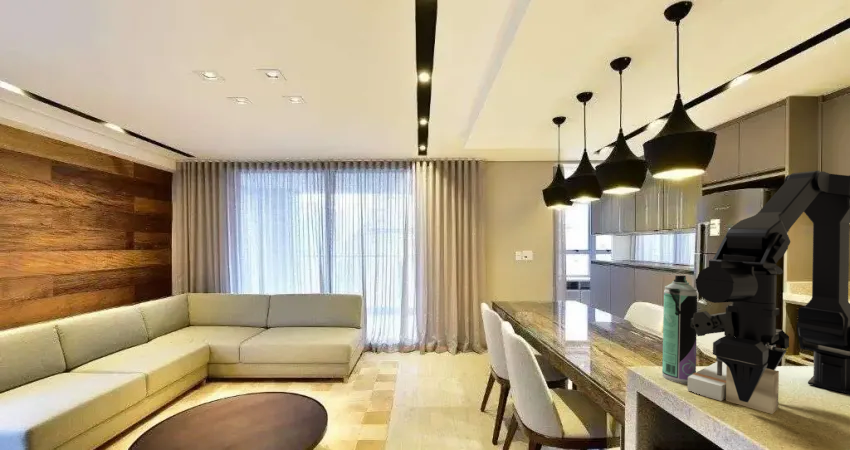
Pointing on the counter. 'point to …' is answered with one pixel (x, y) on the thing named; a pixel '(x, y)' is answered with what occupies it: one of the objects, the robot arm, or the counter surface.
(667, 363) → the spray can
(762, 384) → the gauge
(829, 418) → the counter surface
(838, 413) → the counter surface
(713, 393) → the board
